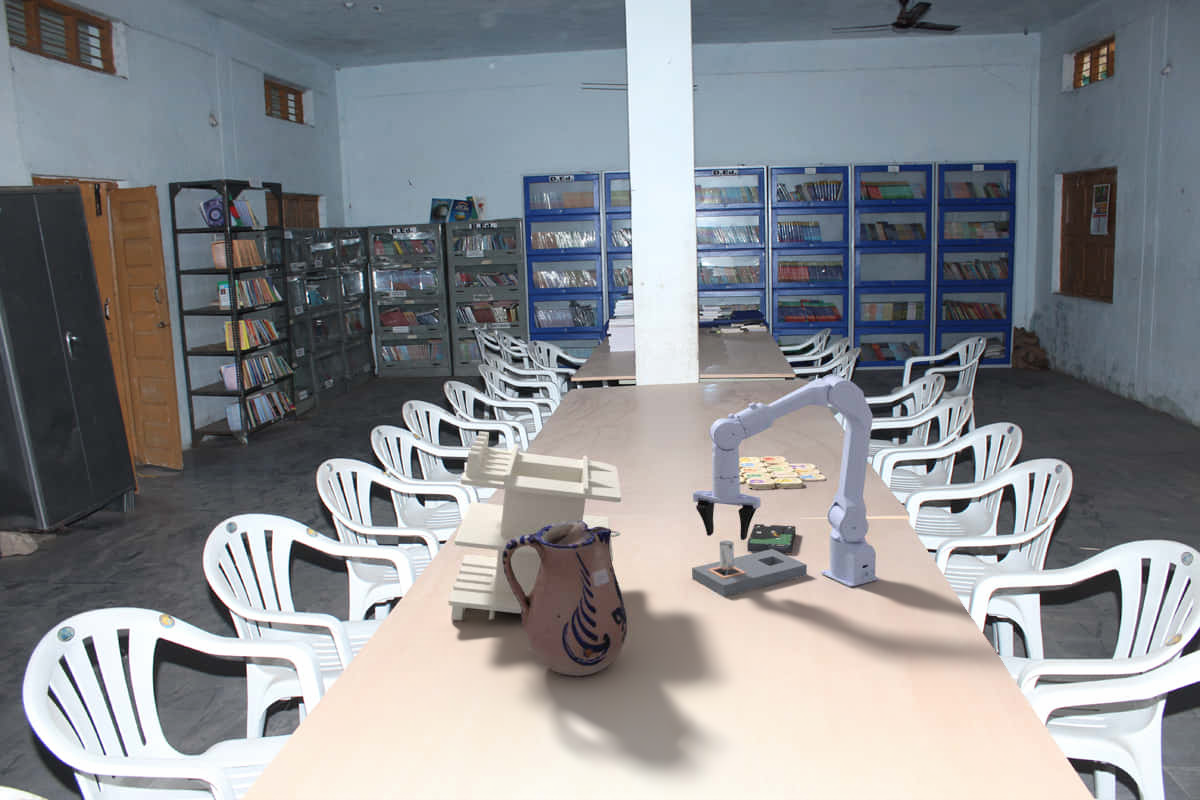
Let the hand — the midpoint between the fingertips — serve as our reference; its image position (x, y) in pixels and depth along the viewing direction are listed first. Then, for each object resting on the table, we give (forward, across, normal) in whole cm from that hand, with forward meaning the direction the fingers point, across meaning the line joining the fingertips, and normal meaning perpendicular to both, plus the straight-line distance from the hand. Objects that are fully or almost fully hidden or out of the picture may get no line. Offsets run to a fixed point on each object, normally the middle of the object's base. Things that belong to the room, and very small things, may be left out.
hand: (726, 536), depth 195 cm
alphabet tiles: (+11, +19, -88) cm, 91 cm away
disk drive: (+11, -1, -28) cm, 30 cm away
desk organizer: (+11, +33, +24) cm, 42 cm away
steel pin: (+10, 0, 0) cm, 10 cm away
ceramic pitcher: (+11, +12, +48) cm, 50 cm away
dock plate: (+10, -3, -5) cm, 12 cm away
